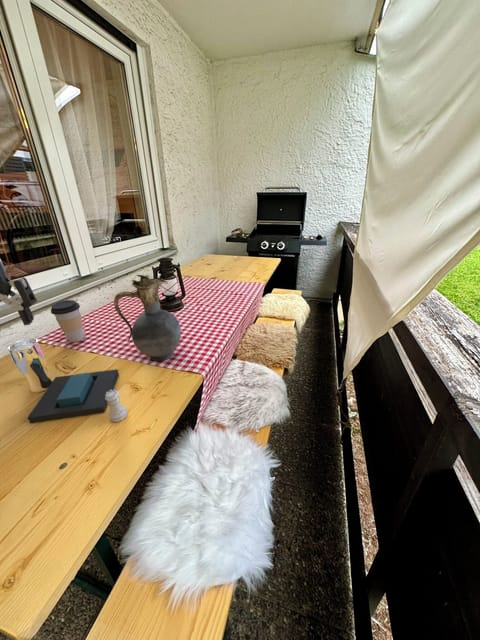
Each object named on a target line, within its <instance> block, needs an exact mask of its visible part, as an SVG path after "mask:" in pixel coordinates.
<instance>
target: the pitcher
mask: <svg viewBox="0 0 480 640" xmlns="http://www.w3.org/2000/svg"><path fill="white" fill-rule="evenodd" d="M135 276H137V277H139V280H138V281H137V280H136V279H132V280H131V285H132V287H134V288H135V289H136V291H127V290H125V291H124V290H123V291H120V292H118V293H116V295H115V296H114V299H113V304H114V305H113V306H114V310H115V311H116V313H117V314H118V316H119V317H120V319H121V320H123V321H124V323H126V325H127V326H128V328H129V332H130V333H129V336H128V339H127V343H129V342H130V340H131V339H132V342H133V345H134V346H135V348H136V349H137V350H138V351H139V352H140V353H141V354H142V355H145V356H149V358H150V359H151V360H152V361H155V362H162V361H166V360H168V359H170V358H172V356H173V355H174V350H176V349H177V347H178V346H179V344H180V341H181V337H182V329H181V328H182V327H181V324H180V322H179V320H178V318H177V317H176V315H174V314H173V313H172V312H170V311H167V310H166V309H161V304H160V296H159V295H160V294H159V289H160V287H161V286H162V285H163V284H165V285H166V284H169V281H167V280H166V279H163V278H161V277H154V278H151V276H150V275H149V274H145V275H143V274H135ZM125 297H127V298H137V299H139V300H140V302H141V304H142V305H143V310H144V311H143V313H140V315H139V316H138V317H137V318H136V319H135V320H134V322H133V325H131V322H129V321H128V319H127V318H126V317H125V316H124V314H123V313H122V310H121V309H120V306H119V300H120V299H122V298H125ZM131 337H132V338H131Z"/></svg>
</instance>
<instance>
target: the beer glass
mask: <svg viewBox="0 0 480 640" xmlns="http://www.w3.org/2000/svg"><path fill="white" fill-rule="evenodd" d="M7 350H8V353H9V356H10V358H11V360H12V361H13V364H14V366H15V367H16V368H17V370H18V371H19V372H20V373H21V374H22V375H23V376H24V378H25V379H26V380H27V382H28V384H29V389H30V391H31V392H32V393H35V394H37V393H42V392H46V390H47V389H48V387H49V386H50V384H51V383H52V382H53V380H54V379H55V378H54V377H53V376H52V375H51V373H50V371H49V367H48V363H47V359H46V354H45V352H44V349H43V348H42V346H41V345H40V343H39V341H38V339H37V338H34V337H33V338H32V337H31V338H29V337H28V338H24V339H20V340H17V341H15V342H13V343H12V344H10V345H9V346H8V348H7Z"/></svg>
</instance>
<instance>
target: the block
mask: <svg viewBox="0 0 480 640" xmlns="http://www.w3.org/2000/svg"><path fill="white" fill-rule="evenodd" d="M86 373H87V374H84V373H79V374H80V375H76V374H71V375H72V376H71V377H70V379H69V380H68V382H67V384H66V385H65V387H64V389H63V390H62V392H61V394H60V395H59V397H58V399H57V402H58V404H59V406H60V408H63V407H70V406H78V405H84V404H85V402H86V400H87V398H88V395H89V393H90V391H91V389H92V387H93V385H94V383H95V381H94V380H93V377H92V374H91V373H92V372H86Z"/></svg>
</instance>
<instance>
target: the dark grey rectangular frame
mask: <svg viewBox="0 0 480 640" xmlns="http://www.w3.org/2000/svg"><path fill="white" fill-rule="evenodd" d="M87 373H88V372H86V373H83V374H87ZM90 373H91V374H92V377H93V380H94V382H95V383H94V385H93V387H92V389H91V391H90V393H89V395H88V398H87V400H86V402H85V404H84V405H78V406H70V407H63V408H60V406H59V404H58V402H57V399H58V397H59V395H60V394H61V392H62V390H63V389H64V387H65V385H66V384H67V382H68V380H69V379H70V377H71V376H72V375H73V374H70V375H68V374H67V375H61V376H55V377H54V378H53V379H54V380H53V382H52V383H51V384H50V386H49V387H48V389H47V390H45V391H44V393H43V395H42V396H41V398H40V399H39V400H38V402H37V403H36V405H35V406H34V407H33V409H32V410H31V412H30V413H29V415H28V416H27V420H28V421H29V423H30V424H35V423H43V422H48V421H56V420H63V419H69V418H76V417H83V416H90V415H96V414H103V413H105V412H106V410H107V408H108V405H109V404H108V401H107V400H106V399H105V396H106V394H107V392H110V390H112V391H113V390H115V389H114V388H115V387H116V386H115V385H116V383H117V381H118V377H119V375H120V373H119V370H118V369H109V370H101V371H93V372H90ZM80 374H81V373H77V374H75V375H80Z"/></svg>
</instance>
